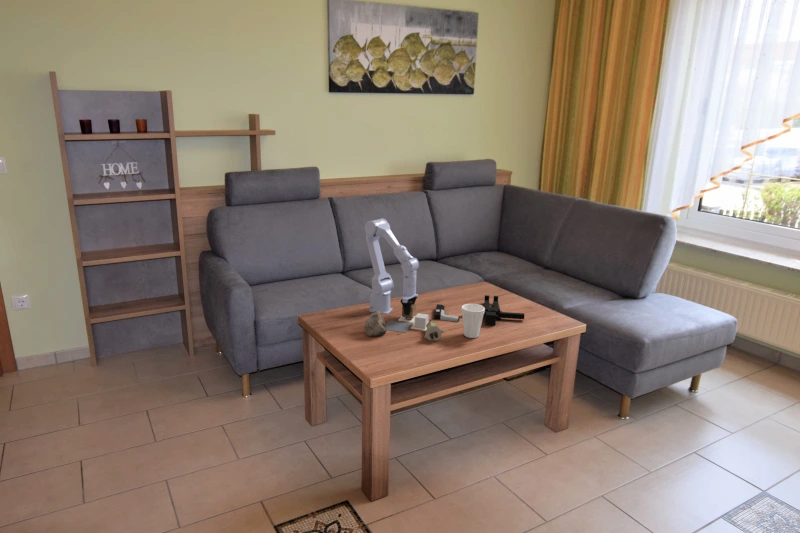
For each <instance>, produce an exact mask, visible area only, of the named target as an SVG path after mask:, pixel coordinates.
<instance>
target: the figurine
mask: <svg viewBox="0 0 800 533" xmlns="http://www.w3.org/2000/svg"><path fill="white" fill-rule="evenodd" d="M437 324H438V323H437V320H435V321H434V320H433V321H432V318H431V316H429V318H428V323H427V325H426V327H427V330H426V331H425V333H424V334H425V335H424V337H423V338H424V339H427V340H428V341H439V340H440V339H441V338H442V334H443V333H445V331H444V330H443V329H441V328H440V327H439V326H438V325H437Z"/></svg>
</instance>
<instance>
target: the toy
mask: <svg viewBox="0 0 800 533" xmlns="http://www.w3.org/2000/svg"><path fill="white" fill-rule="evenodd" d="M483 302H484V304H483V305H484V306H483V307H484V308H485V311H484V315H483V318H485V322H484V323H485V325H490V326H491V325H492V326H496V324H497V322H496V321H500V320H501V319H510V320H511V319H512V320H513V319H514V320H515V319H516V320H525V313H521V312H510V311H509V312H506V311H503V310H501V308H500V304H499V296H498V295H493V300H492V304H493V305H492V306H491V305H490V295H487V294H486V295H484V301H483Z"/></svg>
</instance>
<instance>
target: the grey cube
mask: <svg viewBox="0 0 800 533" xmlns="http://www.w3.org/2000/svg"><path fill="white" fill-rule="evenodd" d="M429 317H430V315H429V314H426V313H419V312H418V313H417V314H415V325H414V328H421V329H426V325H427V323H429V319H428V318H429Z"/></svg>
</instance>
